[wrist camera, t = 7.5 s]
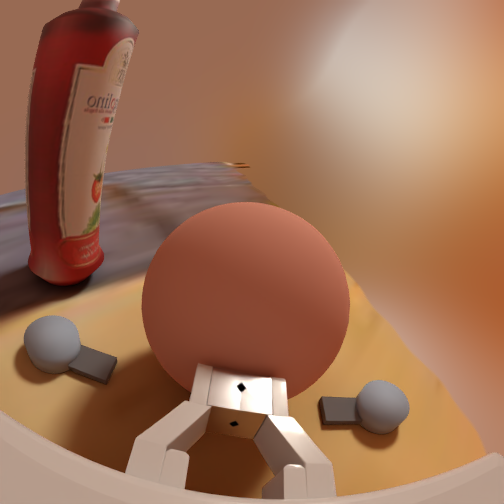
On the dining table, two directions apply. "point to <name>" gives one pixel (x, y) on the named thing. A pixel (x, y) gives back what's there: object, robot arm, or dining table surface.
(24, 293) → the dining table surface
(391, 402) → the grey knobs
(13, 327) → the dining table surface
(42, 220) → the liquor
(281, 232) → the ball
